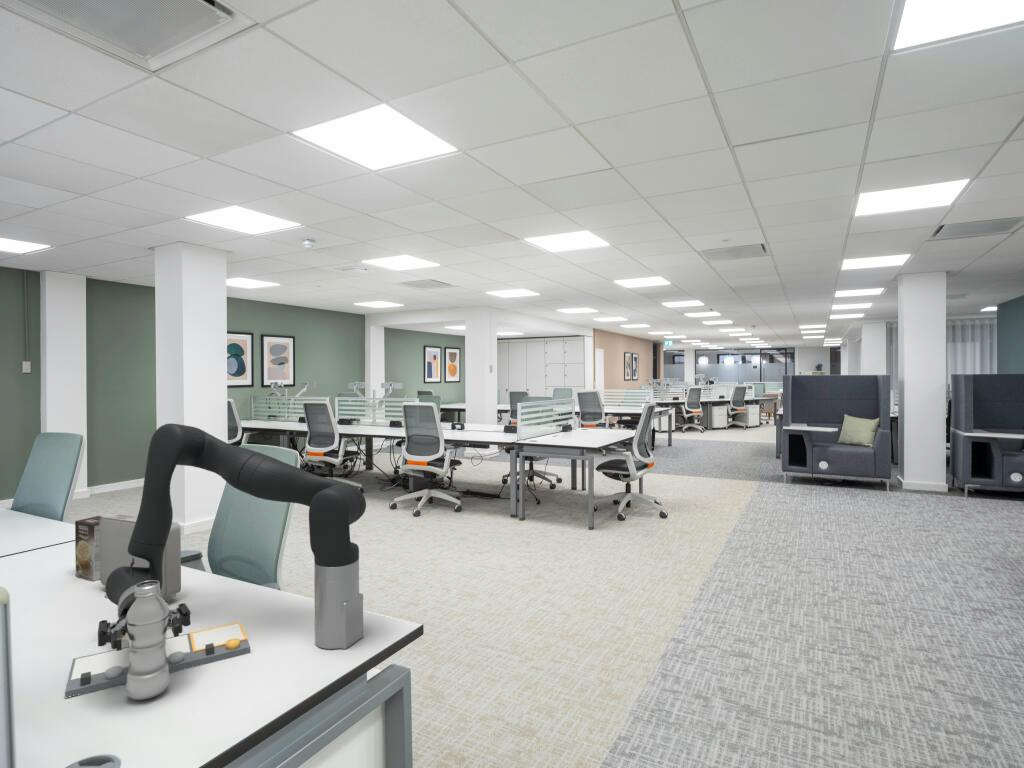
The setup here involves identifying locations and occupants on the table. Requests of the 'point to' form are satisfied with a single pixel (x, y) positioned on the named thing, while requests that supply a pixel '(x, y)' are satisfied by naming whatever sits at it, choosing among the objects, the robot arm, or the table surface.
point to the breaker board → (179, 652)
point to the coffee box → (87, 548)
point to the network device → (116, 555)
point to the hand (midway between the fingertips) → (148, 638)
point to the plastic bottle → (147, 642)
